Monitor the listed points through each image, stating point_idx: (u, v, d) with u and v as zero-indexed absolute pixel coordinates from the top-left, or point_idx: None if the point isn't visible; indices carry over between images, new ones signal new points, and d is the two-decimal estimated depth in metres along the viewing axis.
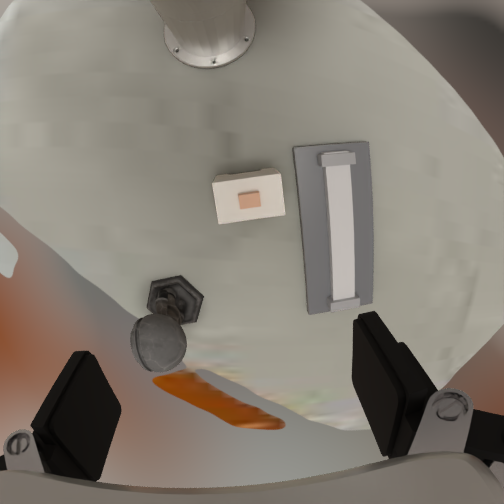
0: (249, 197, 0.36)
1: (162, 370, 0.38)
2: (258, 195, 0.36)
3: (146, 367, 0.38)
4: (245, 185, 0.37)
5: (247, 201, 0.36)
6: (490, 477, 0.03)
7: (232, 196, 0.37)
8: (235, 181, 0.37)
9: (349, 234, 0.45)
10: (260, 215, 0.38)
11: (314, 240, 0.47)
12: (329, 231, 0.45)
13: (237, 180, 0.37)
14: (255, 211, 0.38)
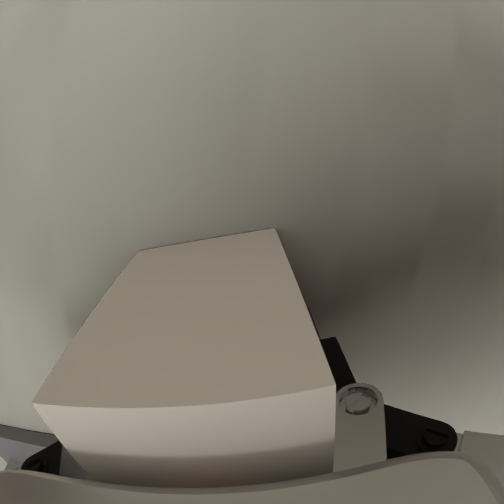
0: None
1: None
2: None
3: None
4: None
5: None
6: (490, 477, 0.03)
7: (228, 477, 0.05)
8: None
9: None
10: None
11: None
12: None
13: None
14: None
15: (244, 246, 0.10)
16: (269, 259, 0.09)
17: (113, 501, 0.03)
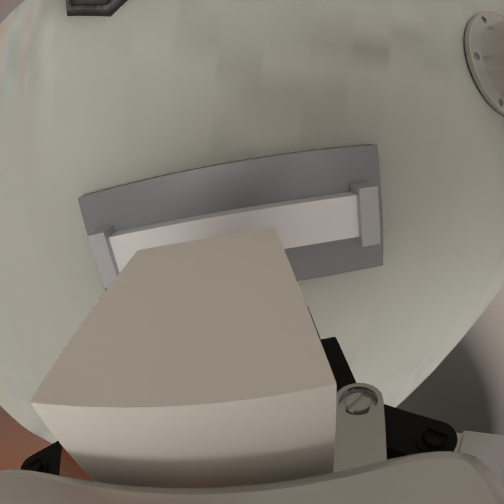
0: None
1: None
2: None
3: None
4: None
5: None
6: (490, 477, 0.03)
7: (228, 477, 0.05)
8: None
9: None
10: None
11: (217, 185, 0.25)
12: (238, 210, 0.25)
13: None
14: None
15: (244, 245, 0.10)
16: (269, 258, 0.09)
17: (113, 501, 0.03)
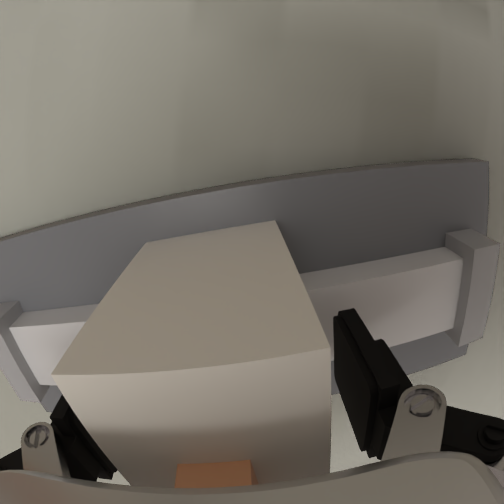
0: None
1: None
2: None
3: None
4: (294, 473, 0.06)
5: None
6: (490, 477, 0.03)
7: (234, 444, 0.05)
8: (321, 446, 0.06)
9: None
10: None
11: None
12: None
13: (324, 450, 0.06)
14: None
15: (247, 236, 0.11)
16: (270, 247, 0.09)
17: (113, 501, 0.03)
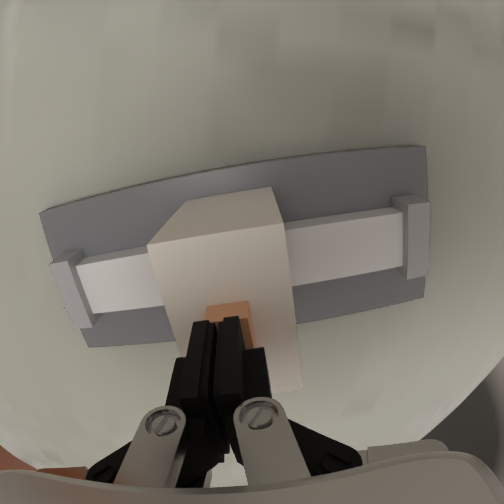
0: None
1: None
2: None
3: None
4: (274, 318, 0.12)
5: None
6: (490, 477, 0.03)
7: (239, 286, 0.12)
8: (286, 292, 0.12)
9: None
10: None
11: None
12: None
13: (289, 298, 0.12)
14: None
15: (252, 194, 0.17)
16: (264, 197, 0.16)
17: (113, 501, 0.03)
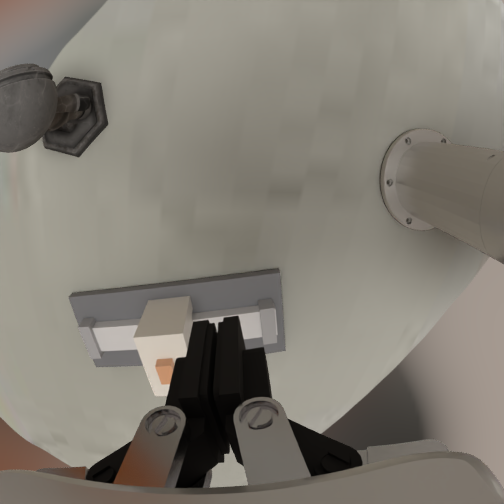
0: (170, 375, 0.29)
1: None
2: None
3: None
4: None
5: (165, 373, 0.29)
6: (490, 477, 0.03)
7: (168, 353, 0.30)
8: None
9: None
10: (150, 376, 0.30)
11: None
12: None
13: None
14: (153, 372, 0.30)
15: (179, 302, 0.35)
16: (183, 308, 0.33)
17: (113, 501, 0.03)
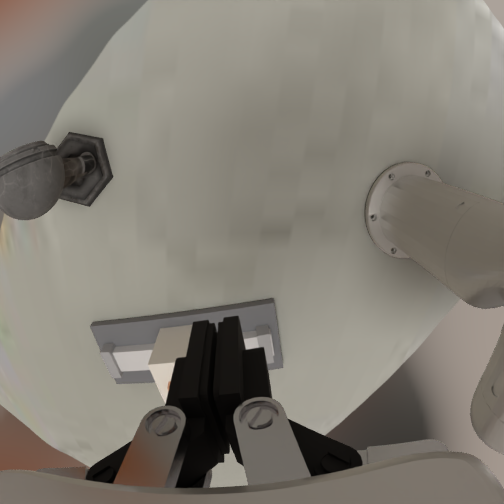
0: None
1: None
2: None
3: None
4: None
5: None
6: (490, 477, 0.03)
7: None
8: None
9: None
10: (163, 395, 0.36)
11: None
12: None
13: None
14: (166, 391, 0.35)
15: (186, 331, 0.40)
16: None
17: (113, 501, 0.03)
